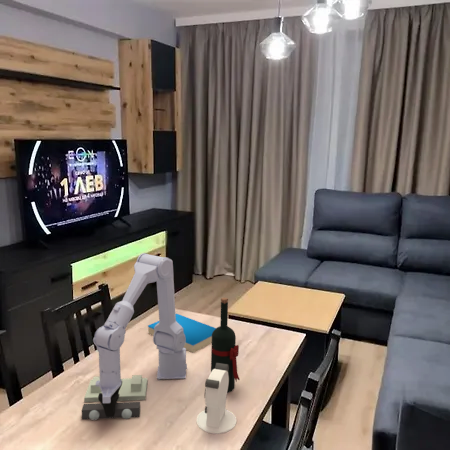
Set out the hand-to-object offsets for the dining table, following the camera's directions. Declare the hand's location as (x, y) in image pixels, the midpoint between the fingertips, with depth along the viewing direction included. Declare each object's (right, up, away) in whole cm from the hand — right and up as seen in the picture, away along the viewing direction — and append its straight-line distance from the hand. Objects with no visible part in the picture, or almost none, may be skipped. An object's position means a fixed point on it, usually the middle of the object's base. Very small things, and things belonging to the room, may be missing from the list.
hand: (111, 411), depth 128 cm
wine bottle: (+33, +1, +15) cm, 36 cm away
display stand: (-1, +1, +12) cm, 12 cm away
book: (+16, +8, +51) cm, 55 cm away
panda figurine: (+30, -2, -1) cm, 30 cm away
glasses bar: (0, -1, +1) cm, 2 cm away
